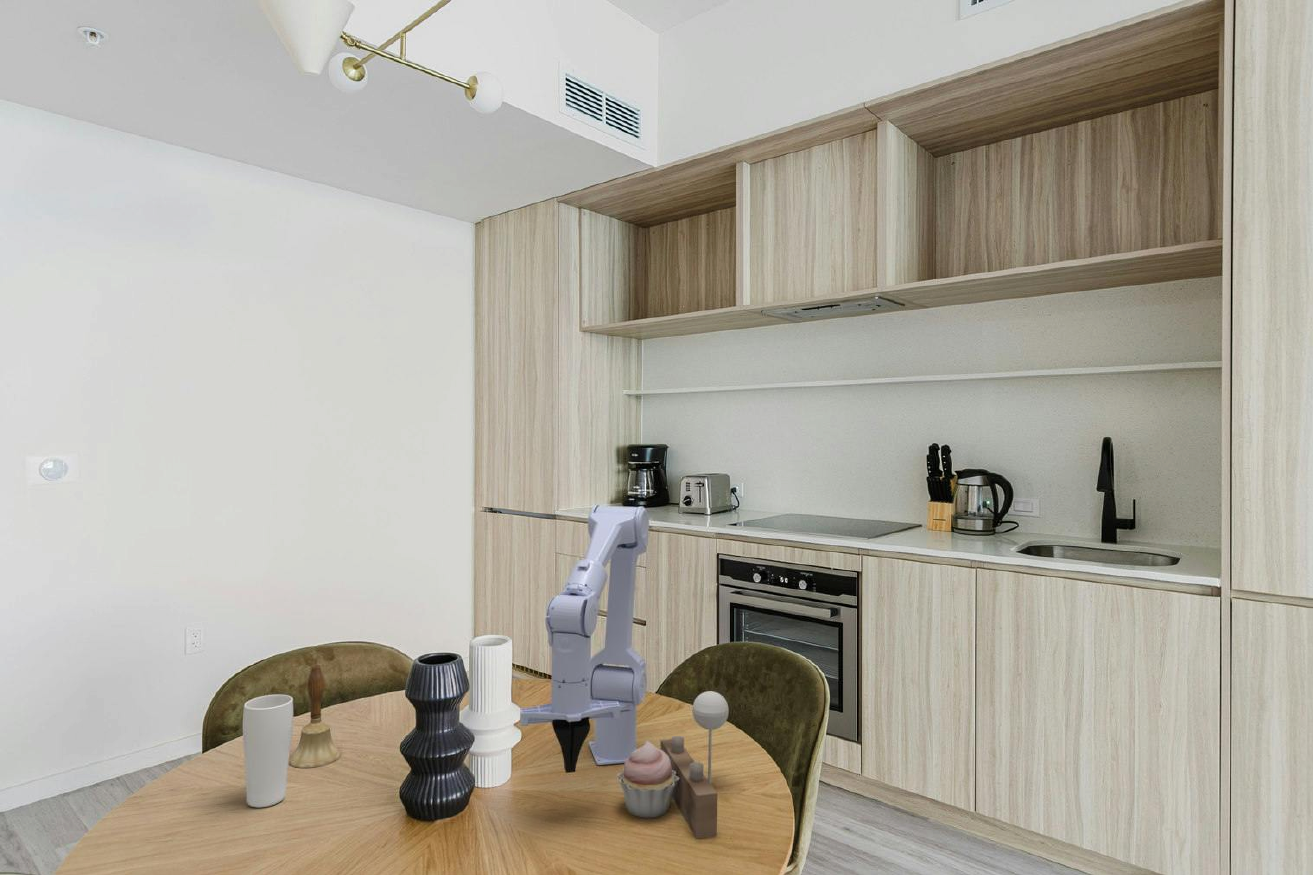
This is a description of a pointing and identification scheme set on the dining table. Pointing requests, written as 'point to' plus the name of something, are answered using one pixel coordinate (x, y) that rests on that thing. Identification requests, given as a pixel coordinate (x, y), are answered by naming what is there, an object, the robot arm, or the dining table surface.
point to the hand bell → (315, 731)
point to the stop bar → (692, 790)
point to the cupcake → (648, 781)
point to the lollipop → (710, 715)
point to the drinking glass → (267, 748)
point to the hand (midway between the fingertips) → (569, 769)
